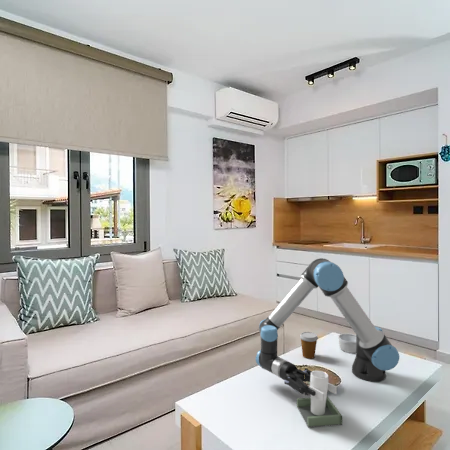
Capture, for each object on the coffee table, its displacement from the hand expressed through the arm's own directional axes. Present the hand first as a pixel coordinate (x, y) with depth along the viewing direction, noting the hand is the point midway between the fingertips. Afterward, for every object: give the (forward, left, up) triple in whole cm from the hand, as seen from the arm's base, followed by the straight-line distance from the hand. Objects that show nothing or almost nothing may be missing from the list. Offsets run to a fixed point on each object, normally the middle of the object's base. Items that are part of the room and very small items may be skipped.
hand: (329, 393), depth 125 cm
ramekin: (-40, -61, -11) cm, 74 cm away
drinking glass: (+3, -4, -10) cm, 11 cm away
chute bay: (+2, -4, -11) cm, 12 cm away
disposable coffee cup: (-13, -55, -11) cm, 58 cm away
